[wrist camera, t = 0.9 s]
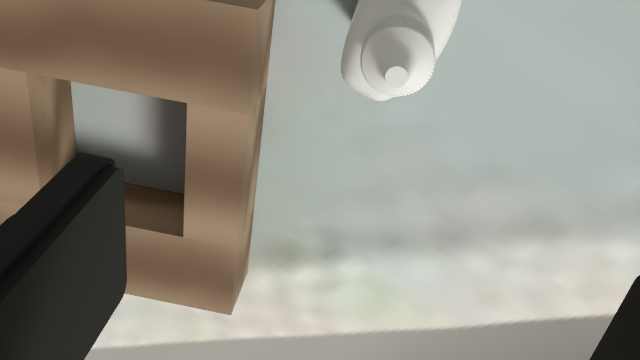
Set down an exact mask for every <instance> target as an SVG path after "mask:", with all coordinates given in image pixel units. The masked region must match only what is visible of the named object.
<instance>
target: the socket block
mask: <svg viewBox="0 0 640 360" xmlns="http://www.w3.org/2000/svg"><path fill="white" fill-rule="evenodd" d="M274 7H275V0H0V225H1V224H2V223H3V222H4V221H5V220H6V219H8V218H9V217H11V216H12V215H13V214H15V213H16V212H17V211H18V210H19V209H20V208H22V207H23V206H24V205H25V204H26V203H27V202H28V201H29V200H30V199H31V198H32V197H33V196H34V195H35V194H36V193H37V192H38V191H39V190H40V189H41V188H42V187H43V186H45V185H46V184H47V183H48V182H49V181H50V180H51V179H52V178H53V177H54V176H55V175H56V174H57V173H58V172H59V171H60V170H61V169H62V168H63V167H64V166H65V165H66V164H67V163H69V162H70V161H71V160H72V159H73V158H74V157H75V156H76V145H75V133H74V121H73V108H72V96H71V84H70V81H73V82H78V83H84V84H89V85H94V86H100V87H105V88H110V89H115V90H121V91H126V92H131V93H136V94H142V95H147V96H152V97H157V98H163V99H168V100H173V101H178V102H184V103H187V124H186V159H185V194H184V195H183V194H178V193H173V192H167V191H162V190H157V189H152V188H147V187H142V186H137V185H132V184H127V183H124V193H125V227H126V262H127V284H126V289H125V294H130V295H135V296H140V297H145V298H150V299H154V300H159V301H164V302H169V303H174V304H179V305H184V306H189V307H193V308H198V309H203V310H208V311H213V312H218V313H223V314H228V315H231V314H232V311H233V308H234V306H235V303H236V301H237V298H238V295H239V293H240V290H241V287H242V285H243V282H244V280H245V277H246V274H247V270H248V260H249V251H250V241H251V231H252V221H253V212H254V202H255V192H256V182H257V173H258V163H259V153H260V143H261V134H262V124H263V114H264V104H265V95H266V85H267V75H268V65H269V56H270V46H271V36H272V26H273V17H274Z"/></svg>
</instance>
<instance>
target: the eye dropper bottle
mask: <svg viewBox="0 0 640 360" xmlns="http://www.w3.org/2000/svg"><path fill="white" fill-rule="evenodd" d="M461 1H462V0H358V3H357V6H356V9H355V12H354V15H353V18H352V21H351V24H350V27H349V30H348V34H347V37H346V41H345V44H344V49H343V54H342V61H341V73H342V77H343V79H344V80H345V81H346V83H347V84H348V85H349V86H351V87H352V88H354V89H355V90H357V91H359V92H360V93H362V94H364V95H365V96H367V97H369V98H371V99H373V100H377V101H384V100H388V99H390V98H392V97H394V96H396V97H397V96H399V97H401V96H405V95H409V94H412V93H415V91H418V90H419V89H422V86H424V84H426V83H427V81H428V80H429V78H430V77H431V74H433V70H434V67H435V62H436V59H437V58H438V56H439V55H440V53H441V52H442V50H443V49H444V47H445V45H446V43H447V41H448V39H449V37H450V35H451V33H452V30H453V28H454V25H455V23H456V20H457V17H458V13H459V10H460V6H461Z"/></svg>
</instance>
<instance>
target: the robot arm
mask: <svg viewBox="0 0 640 360" xmlns="http://www.w3.org/2000/svg"><path fill="white" fill-rule="evenodd" d="M126 284H127V262H126V227H125V193H124V173H123V170H122V169H120V168H116V166H115V163H114V160H112V159H111V158H106V157H101V156H96V155H91V154H86V153H79V154H77V155H76V156H75V157H74V158H73V159H72V160H71V161H70V162H69V163H67V164H66V165H65V166H64V167H63V168H62V169H61V170H60V171H59V172H58V173H57V174H56V175H55V176H54V177H53V178H52V179H51V180H50V181H49V182H48V183H47V184H46V185H45V186H43V187H42V188H41V189H40V190H39V191H38V192H37V193H36V194H35V195H34V196H33V197H32V198H31V199H30V200H29V201H28V202H27V203H26V204H25V205H24V206H23V207H22V208H20V209H19V210H18V211H17V212H16V213H15V214H13V215H12V216H11V217H9V218H8V219H6V220H5V221H4V222H3V223H2V224H1V225H0V360H84V359H85V357H86V355H87V354H88V352H89V351H90V349H91V348H92V346H93V344H94V343H95V341H96V340H97V338H98V336H99V335H100V333H101V332H102V330H103V328H104V327H105V325H106V324H107V322H108V320H109V319H110V317H111V315H112V314H113V312H114V311H115V309H116V307H117V306H118V304H119V303H120V301H121V299H122V297H123V295H124V293H125V289H126ZM590 360H640V275H639V276H638V277H637V278H636V279H635V281H634V283H633V284H632V286H631V288H630V290H629V291H628V293H627V295H626V297H625V298H624V300H623V302H622V304H621V305H620V307H619V309H618V311H617V312H616V314H615V316H614V318H613V319H612V321H611V323H610V325H609V326H608V328H607V330H606V332H605V334H604V335H603V337H602V339H601V341H600V342H599V344H598V346H597V348H596V350H595V351H594V353H593V355H592V357H591V358H590Z"/></svg>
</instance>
